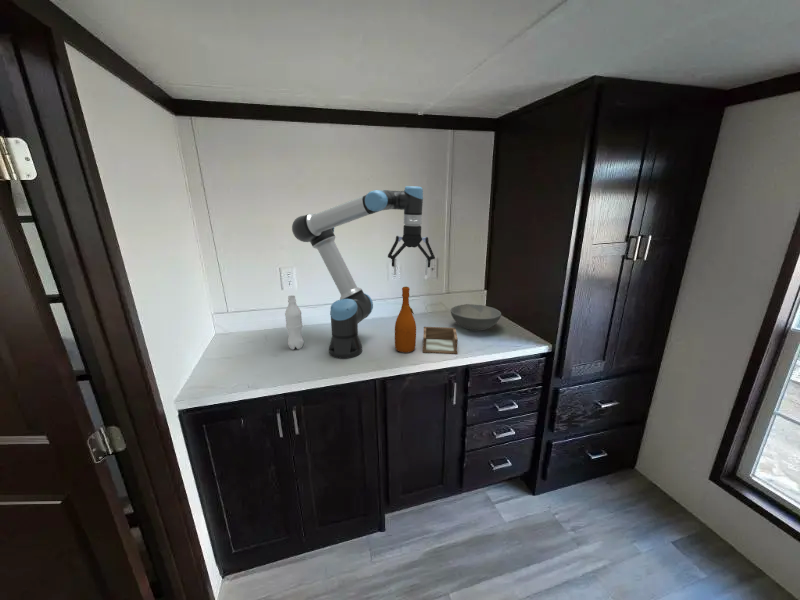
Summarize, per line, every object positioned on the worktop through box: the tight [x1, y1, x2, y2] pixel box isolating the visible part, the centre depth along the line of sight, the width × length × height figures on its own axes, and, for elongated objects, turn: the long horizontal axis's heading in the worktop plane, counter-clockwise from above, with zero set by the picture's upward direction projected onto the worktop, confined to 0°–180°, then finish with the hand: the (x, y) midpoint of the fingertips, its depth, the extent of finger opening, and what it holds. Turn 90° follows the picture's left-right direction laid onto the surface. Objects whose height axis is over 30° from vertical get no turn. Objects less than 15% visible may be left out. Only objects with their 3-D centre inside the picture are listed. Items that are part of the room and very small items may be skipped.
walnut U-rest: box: [422, 326, 459, 355], centre depth 163 cm, size 16×16×7 cm
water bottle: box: [284, 295, 305, 351], centre depth 158 cm, size 7×7×25 cm
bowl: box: [450, 303, 502, 331], centre depth 185 cm, size 26×26×10 cm
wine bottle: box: [394, 286, 417, 353], centre depth 156 cm, size 10×10×30 cm
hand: (410, 274), depth 151 cm, fingers open, 13 cm apart
